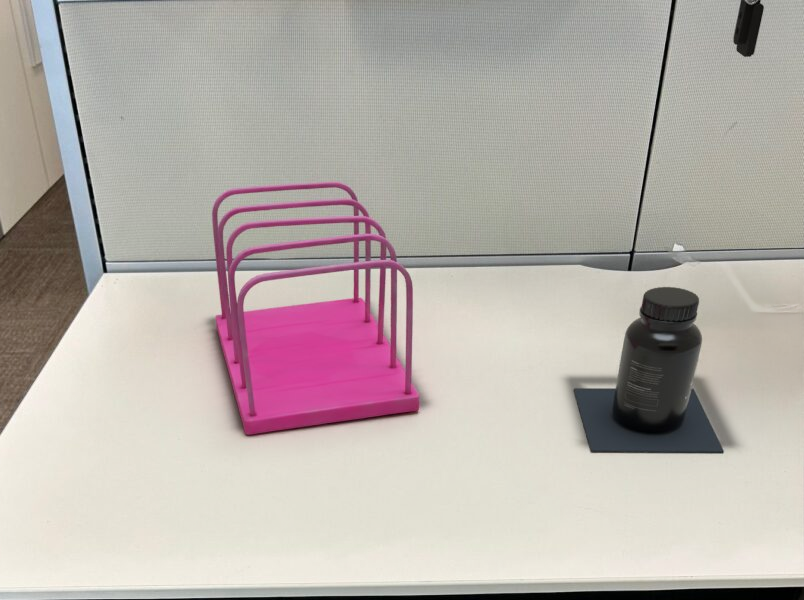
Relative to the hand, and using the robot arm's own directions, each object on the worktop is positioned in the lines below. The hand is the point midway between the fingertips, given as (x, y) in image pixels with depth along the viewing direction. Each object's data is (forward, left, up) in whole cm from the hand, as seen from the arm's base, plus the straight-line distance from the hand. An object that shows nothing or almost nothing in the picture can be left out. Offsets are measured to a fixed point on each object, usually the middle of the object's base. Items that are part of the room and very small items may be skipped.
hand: (798, 52), depth 83 cm
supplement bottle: (+12, +17, -28) cm, 34 cm away
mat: (+12, +17, -28) cm, 35 cm away
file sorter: (+45, +6, -28) cm, 54 cm away
